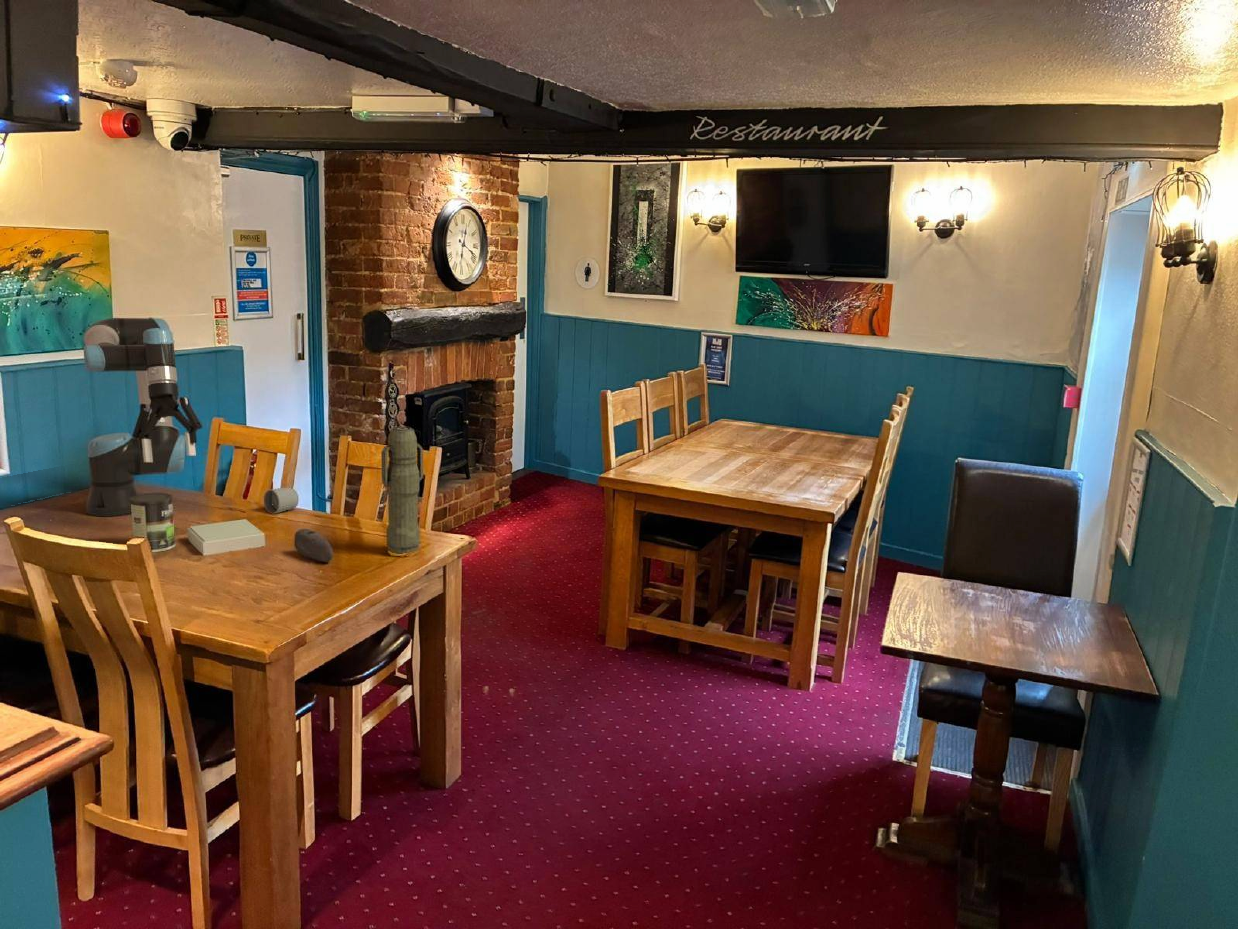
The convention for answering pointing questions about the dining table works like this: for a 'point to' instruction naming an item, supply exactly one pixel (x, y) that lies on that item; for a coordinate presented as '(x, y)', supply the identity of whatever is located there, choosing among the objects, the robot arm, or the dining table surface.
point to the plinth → (225, 537)
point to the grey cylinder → (280, 500)
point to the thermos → (402, 489)
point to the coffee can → (153, 519)
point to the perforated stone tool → (313, 545)
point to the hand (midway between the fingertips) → (169, 459)
